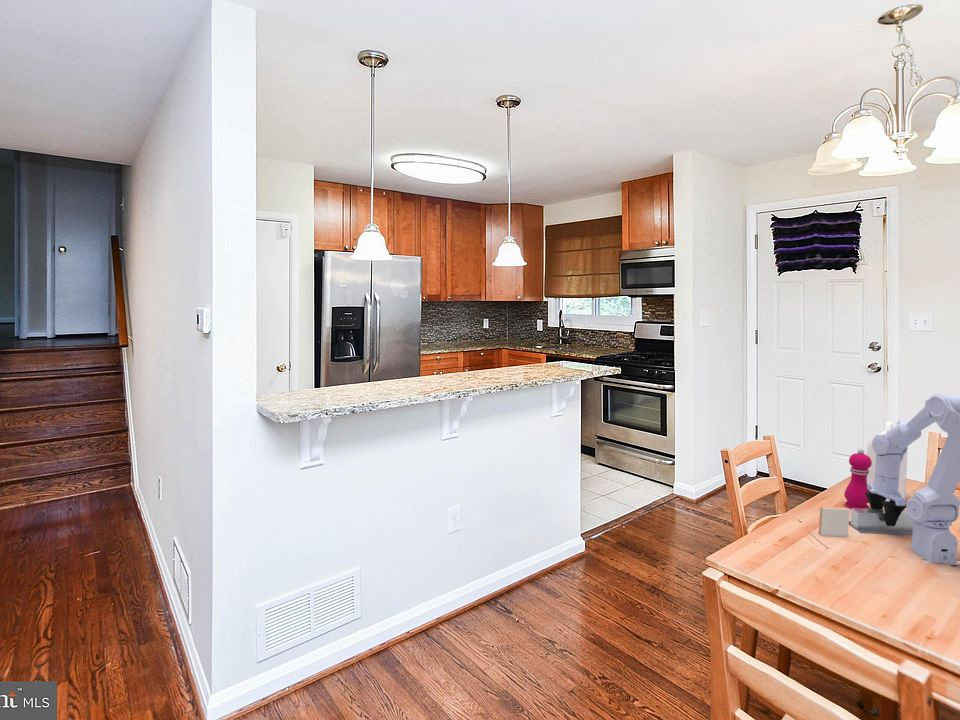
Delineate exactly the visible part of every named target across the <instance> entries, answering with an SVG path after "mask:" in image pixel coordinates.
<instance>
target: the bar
mask: <svg viewBox="0 0 960 720" xmlns="http://www.w3.org/2000/svg"><path fill="white" fill-rule="evenodd" d="M850 511H851V513H850V521H851V525H852V526H853V527H855V528H856V529H864V530H890V531H913V521H912V520H911V518H910V517H909V515H908V513H907V510H906V509H904V510H903V511H902V513H901V514H900V516H899V518H898V520H897V522H896V525H895V526H887V525H886V522H885V510H884V508H883V509H871V508H869V509H860V508H852V509H851V510H850ZM853 527H852V528H853ZM856 529H855V530H856Z"/></svg>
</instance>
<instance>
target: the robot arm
mask: <svg viewBox="0 0 960 720" xmlns="http://www.w3.org/2000/svg"><path fill="white" fill-rule="evenodd" d="M934 423H935V424H937V426H938V427H939V428H940V429H941V431H943V432H945V433H946V434H947V437H946V440H945V442H944V444H943V447H942V449H941V451H940V453H939V456H938V459H937V461H936V463H935V465H934V466H933V467H934V468H933V470H932V473H931V475H930V477H929V478H928V479H929V480H928V482H927V484H926V486H924V487H922V488H920V489H917V490H916V491H915V492H914V493H913V496H912V497H911V498H909V499H908V500H907V499H906V498H905V499H904V498H903V497H902V496H901V495H900V493H899V492H898V486H899V474H900V462H901V461H902V460H903V456H904V454H905V453H906V452H907V453H908V447H909V446H910V445H911V444H912V443H914V442H916V440H919V438H921V436H922V431H923V430H925V429H926V428H927V427H929V426H931V425H932V424H934ZM872 438H873V441H872V447H873V450H874V451H875V453H876V466H875V479H874V483H869V482H868V483H867V489H869V490H870V492H865V495H866V496H867V498H868V501H869V503H868V505H869V509H884V510H885V522H886V525H887V526H895V525H896V522H897V520H898V518H899V516H900V514H901V513H902V511H903V510H907V513H908V515H909V517H910V518H911V520H912V521H913V533H912V535H911V547H910V550H911V552H913V553H915V554H916V555H918V556H920V557H923V558H921V560H922V561H924V562H925V563H927V564H929V563H930V564H947V565H948V566H960V563H959V562H958V561H957V555H958V554H957V553H958V545H959V544H958V539H957V537H956V536H955V535H954V534H953V533H952V531H951V530H950V527H953V526H952V525H953V523H954V522H956V521H957V520H958V519H959V516H960V510H959V509H960V499H959V497H958V496H956V494H955V493H956V491H957V490H956V489H957V487H958V485H959V484H960V394H941V393H935V394H933V395H931V396H930V397H929V398H928V399H926V400H925V402H924V407H922V408H921V409H920V410H919V411H918V412H917V413H916V414H915V415H914V416H913V417H912V418H911V419H910V420H898V422H896V425H895V426H893V427H892V429H891V430H888V431H887V433H886V434H883V435H878V434H876V435H875V436H874V437H872ZM886 498H887V499H889V500H890V501H885V500H886ZM906 501H907V502H906Z"/></svg>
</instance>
